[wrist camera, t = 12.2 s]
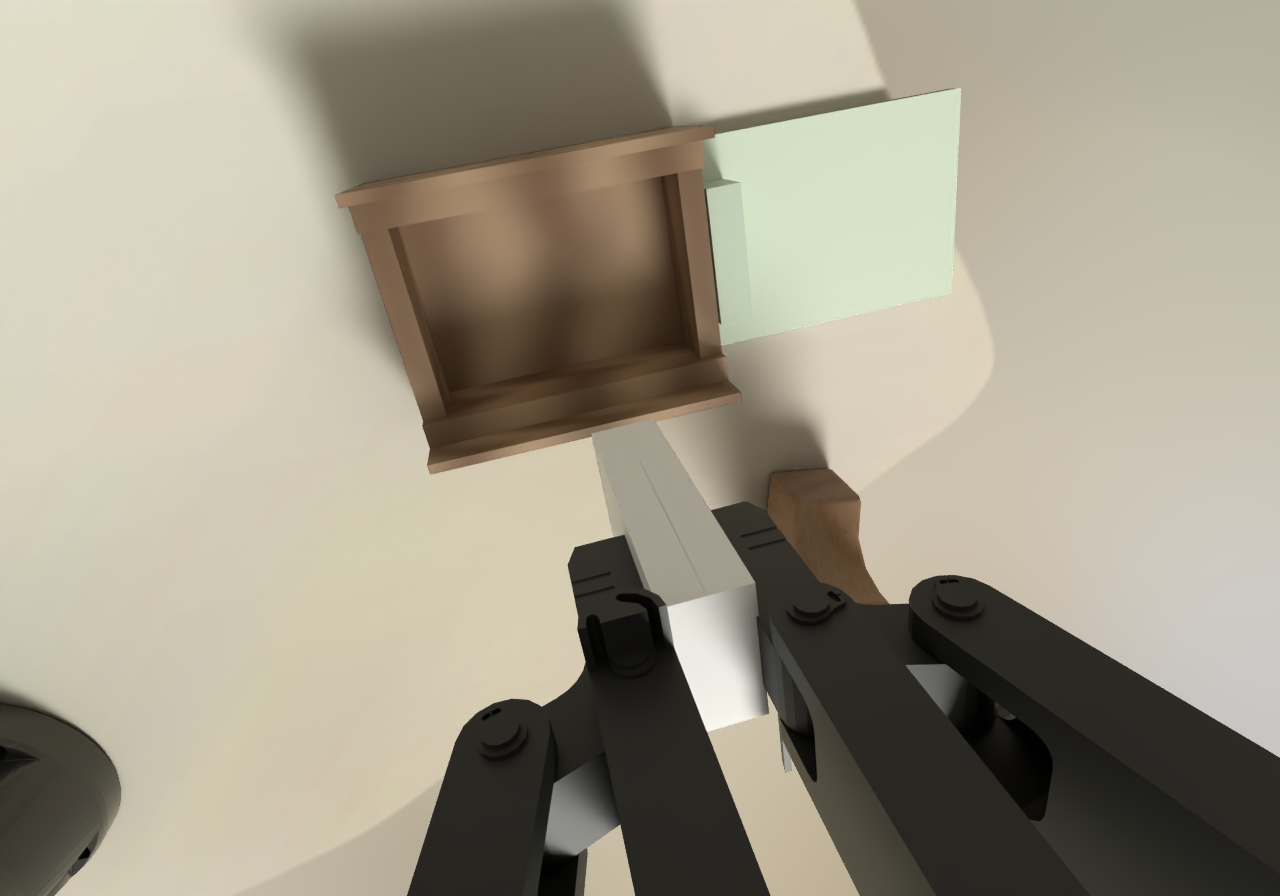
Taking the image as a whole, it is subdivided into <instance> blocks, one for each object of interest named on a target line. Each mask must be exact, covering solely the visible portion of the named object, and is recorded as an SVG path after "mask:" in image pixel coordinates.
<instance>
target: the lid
mask: <svg viewBox="0 0 1280 896" xmlns="http://www.w3.org/2000/svg"><path fill="white" fill-rule="evenodd" d="M960 102H961V88H954V89H945V90H940V91H935V92H929V93H924V94H919V95H914V96H909V97H903V98H898V99H893V100H891V101H885V102H880V103H875V104H870V105H864V106H859V107H854V108H849V109H843V110H838V111H833V112H827V113H822V114H817V115H812V116H806V117H801V118H796V119H791V120H785V121H780V122H775V123H770V124H764V125H759V126H754V127H749V128H743V129H738V130H733V131H728V132H722V133H717V134H715V138H711V139H706V140H702V143H703V152H704V161H705V168H702V176H703V185H704V194H705V203H706V212H707V221H708V230H709V239H710V248H711V257H712V266H713V275H714V284H715V293H716V302H717V312H718V321H719V330H720V339H721V346H724V345H728V344H733V343H737V342H741V341H746V340H750V339H754V338H759V337H763V336H767V335H772V334H776V333H781V332H785V331H789V330H794V329H798V328H802V327H807V326H811V325H815V324H820V323H824V322H829V321H833V320H837V319H842V318H846V317H850V316H855V315H859V314H863V313H868V312H872V311H876V310H881V309H885V308H890V307H894V306H898V305H903V304H907V303H911V302H916V301H920V300H924V299H929V298H933V297H937V296H942V295H946V294H951V293H952V274H953V253H954V232H955V209H956V189H957V166H958V145H959V124H960Z"/></svg>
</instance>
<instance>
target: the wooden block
mask: <svg viewBox="0 0 1280 896" xmlns="http://www.w3.org/2000/svg"><path fill="white" fill-rule="evenodd" d="M860 506H861V501H860V498H859V496H858V495H857V494H856V493H855V492H854V491H853V490H852V489H851V488H850V487H849V486H848V485H847V484H846V483H845V482H844V481H843V480H842V479H841V478H840V477H839V476H838V475H837V474H836V473H835V472H834V471H832V470H831V469H813V470H801V471H789V472H776V473H773V474H772V475H771V479H770V488H769V497H768V506H767V514H768V515H769V517H770V518H771V519H772V520H773V522H774V523H775V524H776V526H777V529H779V530H780V531H781V532H782V534H783V535H784V536H785V537H786V540H787V541H789V543H790V544H791V545H792V547H793V548H794V549H795V550H796V552H797V553H798V554H799V556H800V557H801V558H802V560H803V561H804V562H805V564H806V565H807V566H808V567H809V569H810V570H811V571H812V573H813V574H814V575H815V577H816V578H817V579H818V581H819V582H820V583H826V584H829V585H832V586H834V587H837V588H839V589H841V590H842V591H844V592H845V593H846V594H847V595H849V596H850V597H851V598H852V599H853V601H854V602H855V603H860V604H870V605H886V604H889V603H888V602H887V600H886V599H885V598H884V597H883V596H882V595H881V593H880V592H879V590H878V589H877V587H876V585H875V584H874V582H873V580H872V578H871V577H870V575H869V573H868V571H867V570H866V567H865V563H864V559H863V555H862V551H861V547H860V543H859V539H858V536H859V521H860Z"/></svg>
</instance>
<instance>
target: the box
mask: <svg viewBox="0 0 1280 896" xmlns="http://www.w3.org/2000/svg"><path fill="white" fill-rule="evenodd" d="M711 138H715V132H714V125H704V126H677V127H669V128H663V129H658V130H652V131H647V132H642V133H636V134H631V135H625V136H620V137H615V138H609V139H604V140H598V141H593V142H587V143H582V144H577V145H571V146H566V147H560V148H555V149H549V150H544V151H539V152H533V153H528V154H522V155H517V156H511V157H506V158H501V159H495V160H490V161H484V162H479V163H473V164H468V165H463V166H457V167H452V168H446V169H441V170H435V171H430V172H425V173H419V174H414V175H408V176H403V177H397V178H392V179H387V180H381V181H376V182H370V183H365V184H361V185H359V186H356V187H354V188H351V189H349V190H346V191H344V192H342V193H339V194H337V195H335V198H336V201H337V204H338V207H339V208H343V207H349V209H350V212H351V215H352V218H353V221H354V224H355V227H356V230H357V233H358V234H361V236H362V239H363V242H364V245H365V248H366V251H367V254H368V257H369V260H370V263H371V266H372V269H373V272H374V275H375V278H376V281H377V284H378V287H379V290H380V293H381V296H382V299H383V302H384V305H385V308H386V311H387V314H388V317H389V320H390V323H391V326H392V329H393V332H394V335H395V338H396V341H397V344H398V347H399V350H400V353H401V356H402V359H403V362H404V365H405V368H406V371H407V374H408V377H409V380H410V383H411V386H412V389H413V392H414V395H415V398H416V401H417V404H418V407H419V410H420V413H421V416H422V419H423V425H422V426H423V429H424V432H425V435H426V438H427V441H428V444H429V447H430V452H429V458H428V464H427V467H428V470H429V473H430V475H431V474H435V473H439V472H444V471H448V470H452V469H456V468H461V467H465V466H469V465H473V464H478V463H482V462H486V461H490V460H495V459H499V458H503V457H507V456H512V455H516V454H520V453H524V452H528V451H533V450H537V449H541V448H545V447H550V446H554V445H558V444H562V443H567V442H571V441H575V440H579V439H584V438H588V437H592V435H591V433H596V432H600V431H604V430H608V429H612V428H617V427H621V426H625V425H629V424H633V423H638V422H642V421H646V420H650V419H654V420H655V422H656V421H660V420H664V419H669V418H673V417H677V416H681V415H686V414H690V413H694V412H698V411H703V410H707V409H711V408H715V407H720V406H724V405H728V404H732V403H736V402H741V392H740V391H739V390H738V389H737V388H736V387H735V386H734V385H733V384H732V383H731V382H730V381H729V380H728V374H727V364H726V357H725V356H724V355H723V354H722V348H721V339H720V330H719V321H718V312H717V302H716V293H715V284H714V275H713V266H712V257H711V248H710V239H709V230H708V221H707V212H706V203H705V194H704V185H703V176H702V168H705V161H704V152H703V143H702V140H706V139H711Z"/></svg>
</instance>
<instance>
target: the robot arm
mask: <svg viewBox="0 0 1280 896" xmlns="http://www.w3.org/2000/svg"><path fill="white" fill-rule="evenodd" d="M591 435H592V439H593V444H594V449H595V453H596V458H597V463H598V468H599V472H600V477H601V482H602V486H603V491H604V496H605V500H606V505H607V510H608V514H609V519H610V524H611V529H612V532H613V535H614V537H613V538H609V539H605V540H601V541H597V542H594V543H590V544H586V545H582V546H578V547H575V548H574V551H573V553H572V556H571V558H570V561H569V563H568V569H569V574H570V579H571V583H572V588H573V593H574V598H575V603H576V608H577V612H578V617H579V618H578V629H577V630H578V634H579V638H580V641H581V645H582V649H583V653H584V657H585V661H586V663H585V666H584V670H583V672H582V674H581V675H580V677H579V678H578V680H577V681H576V683H575V684H574V685H573V686H572V687H571V688H570V689H569V690H568V691H566V692H565V693H563V694H562V695H561V696H559V697H558V698H556V699H555V700H553V701H551V702H549V703H548V704H546V705H544V706H543V707H541V706H540V705H538V704H536V703H533V702H531V701H529V700H523V699H509V700H505V701H501V702H497V703H494V704H492V705H490V706H488V707H486V708H485V709H483V710H481V711H479V712H478V713H476V714H475V715H474V716H473V717H472V718H471V719H470V720H469V721H468V722H467V723H466V724H465V725H464V726H463V728H462V730H461V732H460V734H459V736H458V738H457V740H456V742H455V745H454V748H453V751H452V754H451V758H450V761H449V764H448V767H447V770H446V773H445V777H444V780H443V783H442V786H441V790H440V793H439V796H438V799H437V802H436V805H435V808H434V812H433V815H432V818H431V821H430V824H429V827H428V831H427V834H426V837H425V840H424V843H423V847H422V850H421V853H420V856H419V860H418V863H417V866H416V869H415V872H414V876H413V878H412V882H411V885H410V888H409V891H408V894H407V896H584V887H585V875H586V865H587V854H588V853H587V847H589V846H590V845H591V844H593V843H594V842H596V841H597V840H599V839H600V838H601V837H603V836H604V835H606V834H607V833H608V832H610V831H611V830H613V829H614V828H616V827H617V826H619V825H621V829H622V834H623V839H624V844H625V849H626V853H627V858H628V863H629V868H630V872H631V877H632V882H633V887H634V891H635V896H770V893H769V891H768V888H767V886H766V883H765V880H764V878H763V875H762V873H761V870H760V868H759V865H758V863H757V860H756V857H755V855H754V852H753V850H752V847H751V844H750V842H749V839H748V837H747V834H746V831H745V829H744V826H743V824H742V821H741V819H740V816H739V813H738V811H737V808H736V806H735V803H734V801H733V798H732V795H731V793H730V790H729V788H728V785H727V783H726V780H725V778H724V775H723V772H722V770H721V767H720V765H719V762H718V759H717V757H716V754H715V752H714V749H713V746H712V744H711V741H710V739H709V736H708V734H707V732H709V731H712V730H715V729H719V728H722V727H725V726H729V725H732V724H736V723H739V722H742V721H745V720H749V719H752V718H755V717H759V716H762V715H766V714H769V709H768V699H767V692H768V694H769V696H770V698H771V700H772V702H773V704H774V706H775V708H776V710H777V712H778V720H779V731H780V741H781V752H782V761H783V765H784V769H785V772H789V771H792V768H791V759H792V761H793V763H794V765H795V767H796V769H797V771H798V773H799V775H800V776H801V779H802V780H803V783H804V785H805V787H806V789H807V791H808V793H809V795H810V796H811V798H812V801H813V802H814V805H815V807H816V809H817V810H818V813H819V814H820V817H821V819H822V821H823V823H824V825H825V826H826V829H827V831H828V833H829V835H830V837H831V838H832V841H833V843H834V845H835V847H836V849H837V851H838V853H839V855H840V857H841V859H842V861H843V863H844V865H845V867H846V869H847V871H848V873H849V875H850V877H851V879H852V881H853V883H854V885H855V886H856V889H857V891H858V893H859V895H860V896H1280V758H1279V757H1277V756H1276V755H1274V754H1273V753H1271V752H1269V751H1268V750H1266V749H1264V748H1262V747H1261V746H1259V745H1257V744H1256V743H1254V742H1252V741H1251V740H1249V739H1247V738H1246V737H1244V736H1242V735H1240V734H1239V733H1237V732H1235V731H1234V730H1232V729H1230V728H1229V727H1227V726H1225V725H1223V724H1222V723H1220V722H1218V721H1217V720H1215V719H1213V718H1212V717H1210V716H1208V715H1207V714H1205V713H1203V712H1202V711H1200V710H1198V709H1197V708H1195V707H1193V706H1191V705H1190V704H1188V703H1187V702H1185V701H1183V700H1181V699H1180V698H1178V697H1176V696H1175V695H1173V694H1171V693H1170V692H1168V691H1166V690H1165V689H1163V688H1161V687H1160V686H1158V685H1156V684H1154V683H1153V682H1151V681H1149V680H1148V679H1146V678H1144V677H1143V676H1141V675H1139V674H1138V673H1136V672H1134V671H1132V670H1130V669H1129V668H1128V667H1126V666H1124V665H1122V664H1121V663H1119V662H1117V661H1116V660H1114V659H1112V658H1111V657H1109V656H1107V655H1105V654H1104V653H1102V652H1101V651H1099V650H1097V649H1095V648H1094V647H1092V646H1090V645H1089V644H1087V643H1085V642H1084V641H1082V640H1080V639H1079V638H1077V637H1075V636H1074V635H1072V634H1070V633H1068V632H1067V631H1065V630H1063V629H1062V628H1060V627H1058V626H1057V625H1055V624H1053V623H1052V622H1050V621H1048V620H1047V619H1045V618H1043V617H1041V616H1040V615H1038V614H1036V613H1035V612H1033V611H1031V610H1030V609H1028V608H1026V607H1025V606H1023V605H1021V604H1020V603H1018V602H1016V601H1014V600H1013V599H1011V598H1009V597H1008V596H1006V595H1004V594H1002V593H1001V592H999V591H998V590H996V589H994V588H992V587H991V586H989V585H987V584H984V583H982V582H980V581H978V580H975V579H972V578H967V577H962V576H957V575H947V576H946V575H944V576H935V577H932V578H928V579H925V580H922V581H921V582H920V583H919V584H917V585H916V586H915V587H914V588H913V589H912V591H911V595H910V597H909V604H886V605H870V604H860V603H855V602H854V601H853V599H852V598H851V597H850V596H849V595H847V594H846V593H845V592H844V591H842V590H841V589H839V588H837V587H834V586H832V585H829V584H826V583H820V582H819V581H818V579H817V578H816V577H815V575H814V574H813V573H812V571H811V570H810V569H809V567H808V566H807V565H806V564H805V562H804V561H803V560H802V558H801V557H800V556H799V554H798V553H797V552H796V550H795V549H794V548H793V547H792V545H791V544H790V543H789V541H787V540H786V537H785V536H784V535H783V534H782V532H781V531H780V530H779V529H777V526H776V524H775V523H774V522H773V520H772V519H771V518H770V517H769V515H768V514H767V513H766V511H764V510H762V509H760V508H758V507H756V506H754V505H752V504H750V503H748V502H747V501H745V502H741V503H738V504H734V505H730V506H726V507H722V508H718V509H714V510H710V509H709V507H708V506H707V504H706V502H705V501H704V499H703V498H702V496H701V494H700V493H699V491H698V489H697V488H696V486H695V485H694V483H693V481H692V480H691V478H690V477H689V475H688V473H687V472H686V470H685V469H684V467H683V465H682V464H681V462H680V460H679V459H678V457H677V456H676V454H675V452H674V451H673V449H672V448H671V446H670V444H669V443H668V441H667V440H666V438H665V436H664V435H663V433H662V431H661V430H660V428H659V427H658V425H657V423H656V422H655V420H654V419H650V420H646V421H642V422H638V423H633V424H629V425H625V426H621V427H617V428H612V429H608V430H604V431H600V432H596V433H591ZM120 801H121V787H120V782H119V778H118V775H117V773H116V771H115V769H114V767H113V765H112V763H111V762H110V760H109V759H108V758H107V756H106V755H105V754H104V753H103V752H102V750H101V749H100V748H99V747H98V746H97V745H95V744H94V743H93V742H92V741H91V740H89V739H88V738H87V737H86V736H84V735H83V734H81V733H80V732H78V731H77V730H75V729H73V728H71V727H70V726H68V725H66V724H64V723H62V722H60V721H58V720H55V719H53V718H51V717H48V716H46V715H43V714H40V713H37V712H34V711H31V710H27V709H23V708H20V707H15V706H10V705H5V704H0V896H54V895H55V894H56V893H57V892H58V891H59V890H60V889H61V888H62V887H63V886H64V885H65V884H66V883H67V882H68V880H69V879H70V878H71V877H72V876H73V875H75V874H76V873H77V872H78V871H79V870H80V869H81V868H82V867H83V866H84V865H85V864H86V863H87V862H88V861H89V860H90V859H91V857H92V856H93V855H94V853H95V852H96V851H97V849H98V848H99V846H100V844H101V843H102V841H103V839H104V837H105V835H106V834H107V832H108V830H109V828H110V826H111V824H112V823H113V821H114V819H115V817H116V815H117V812H118V809H119V806H120Z"/></svg>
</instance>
